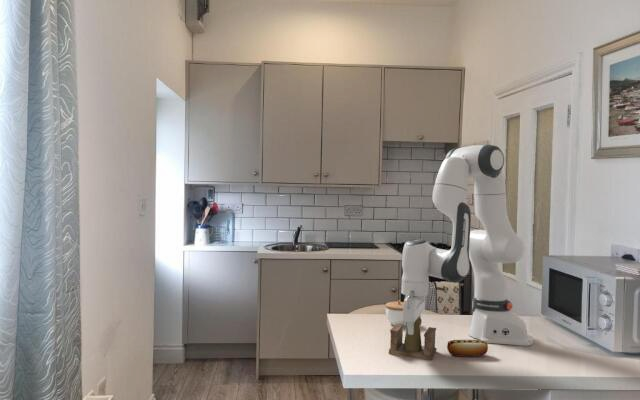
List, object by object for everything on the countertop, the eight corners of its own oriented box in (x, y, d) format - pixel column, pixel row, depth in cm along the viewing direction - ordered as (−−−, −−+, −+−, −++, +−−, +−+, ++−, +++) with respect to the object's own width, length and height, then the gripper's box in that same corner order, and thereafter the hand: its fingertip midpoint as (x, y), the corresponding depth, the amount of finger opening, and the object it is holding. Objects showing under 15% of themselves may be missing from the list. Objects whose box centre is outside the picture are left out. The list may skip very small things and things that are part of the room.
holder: (436, 351, 171) (437, 328, 170) (431, 360, 162) (432, 335, 162) (395, 345, 176) (395, 323, 176) (388, 353, 167) (389, 330, 167)
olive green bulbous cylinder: (410, 352, 164) (411, 318, 164) (399, 347, 170) (400, 314, 169) (425, 350, 167) (426, 317, 167) (414, 344, 172) (415, 312, 172)
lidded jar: (396, 319, 211) (397, 296, 210) (417, 324, 203) (418, 301, 202) (379, 323, 203) (380, 300, 203) (400, 329, 195) (401, 305, 195)
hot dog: (490, 358, 165) (490, 343, 165) (449, 358, 164) (450, 343, 164) (484, 353, 170) (485, 338, 170) (445, 353, 169) (445, 338, 169)
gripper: (418, 295, 157) (417, 340, 158) (429, 283, 176) (428, 323, 177) (398, 293, 160) (397, 337, 160) (411, 282, 179) (410, 321, 179)
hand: (413, 330), depth 169 cm, fingers open, 8 cm apart
